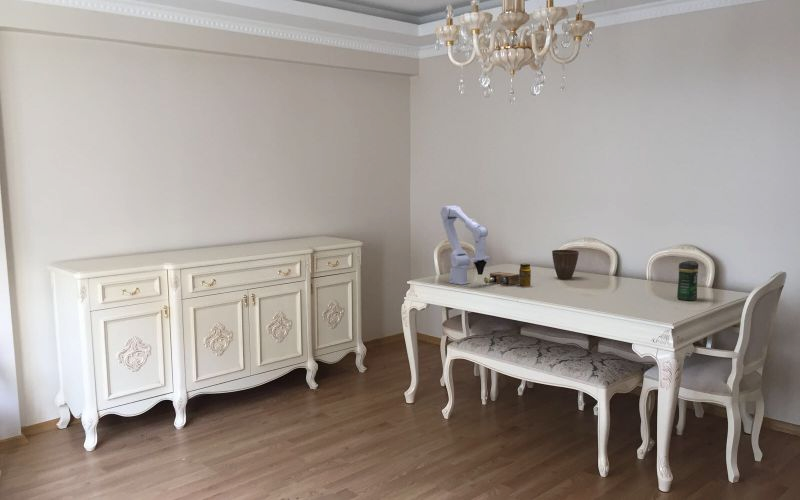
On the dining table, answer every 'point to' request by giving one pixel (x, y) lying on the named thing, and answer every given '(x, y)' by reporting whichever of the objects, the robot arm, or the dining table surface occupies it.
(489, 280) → the brass knob
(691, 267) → the coffee jar
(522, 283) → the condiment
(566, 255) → the plant pot
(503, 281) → the black knob
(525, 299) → the dining table surface
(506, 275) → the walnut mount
